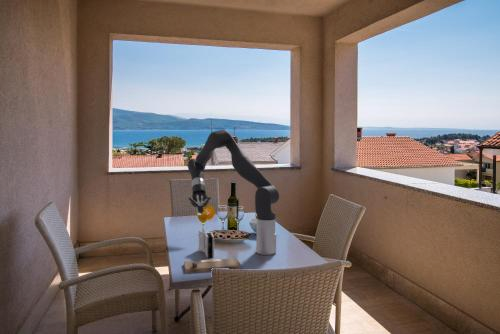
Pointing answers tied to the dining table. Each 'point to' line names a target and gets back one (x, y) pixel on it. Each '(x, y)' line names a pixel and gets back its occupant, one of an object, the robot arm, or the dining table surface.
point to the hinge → (206, 243)
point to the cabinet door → (211, 265)
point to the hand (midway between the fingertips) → (200, 212)
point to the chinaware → (253, 224)
